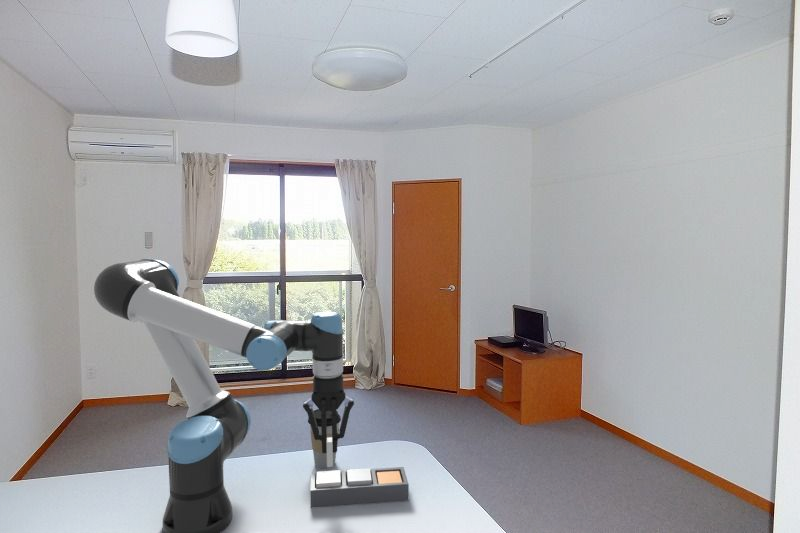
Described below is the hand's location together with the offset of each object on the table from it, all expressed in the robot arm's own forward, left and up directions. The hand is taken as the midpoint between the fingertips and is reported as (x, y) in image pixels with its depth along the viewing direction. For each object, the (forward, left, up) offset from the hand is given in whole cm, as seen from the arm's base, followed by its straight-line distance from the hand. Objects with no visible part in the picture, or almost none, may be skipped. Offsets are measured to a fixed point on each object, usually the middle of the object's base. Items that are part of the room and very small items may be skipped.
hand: (330, 464), depth 128 cm
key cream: (0, 0, -5) cm, 5 cm away
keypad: (+7, 0, -9) cm, 11 cm away
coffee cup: (-2, +18, -9) cm, 20 cm away
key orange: (+15, 0, -7) cm, 17 cm away
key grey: (+7, 0, -5) cm, 9 cm away
